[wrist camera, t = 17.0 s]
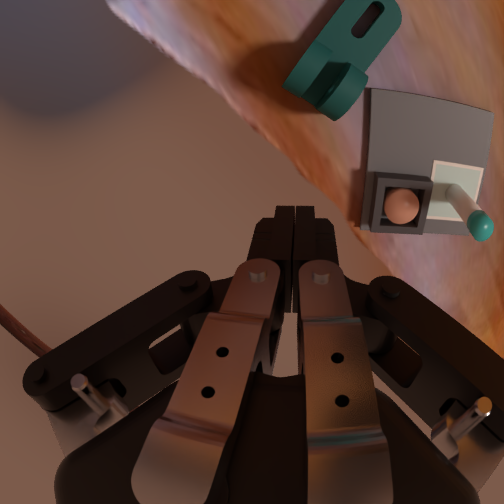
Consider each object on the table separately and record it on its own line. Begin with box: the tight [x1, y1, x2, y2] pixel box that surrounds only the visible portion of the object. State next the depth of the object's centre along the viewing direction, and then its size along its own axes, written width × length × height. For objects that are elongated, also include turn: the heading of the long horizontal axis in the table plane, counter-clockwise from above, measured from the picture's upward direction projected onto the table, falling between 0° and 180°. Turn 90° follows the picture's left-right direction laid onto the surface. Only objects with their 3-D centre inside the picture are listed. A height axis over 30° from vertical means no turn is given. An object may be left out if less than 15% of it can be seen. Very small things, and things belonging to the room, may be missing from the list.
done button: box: [383, 187, 419, 224], centre depth 37 cm, size 5×5×2 cm
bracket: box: [282, 0, 402, 121], centre depth 25 cm, size 18×7×8 cm, turn 149°
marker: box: [446, 184, 494, 241], centre depth 31 cm, size 3×3×10 cm
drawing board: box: [360, 88, 494, 236], centre depth 34 cm, size 20×19×3 cm
